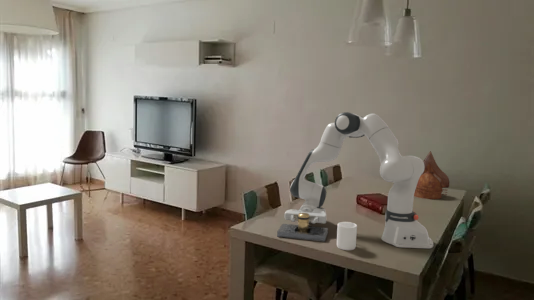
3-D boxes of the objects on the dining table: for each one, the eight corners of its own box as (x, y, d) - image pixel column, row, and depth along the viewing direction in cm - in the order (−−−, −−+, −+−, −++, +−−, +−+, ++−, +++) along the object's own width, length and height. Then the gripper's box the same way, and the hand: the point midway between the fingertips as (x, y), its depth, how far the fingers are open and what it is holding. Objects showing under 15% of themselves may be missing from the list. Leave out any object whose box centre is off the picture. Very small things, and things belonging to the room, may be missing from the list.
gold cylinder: (309, 233, 207) (310, 213, 206) (307, 237, 202) (308, 216, 200) (298, 232, 208) (299, 212, 207) (296, 236, 203) (297, 215, 202)
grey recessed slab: (327, 233, 208) (327, 228, 208) (324, 241, 197) (325, 236, 196) (282, 228, 213) (282, 223, 213) (277, 236, 202) (277, 231, 202)
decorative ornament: (404, 196, 286) (408, 150, 281) (409, 190, 302) (412, 147, 298) (447, 201, 274) (451, 154, 270) (449, 195, 291) (453, 150, 287)
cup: (334, 248, 188) (335, 226, 187) (340, 240, 199) (341, 218, 198) (353, 251, 185) (354, 228, 184) (359, 242, 196) (360, 221, 195)
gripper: (287, 205, 219) (281, 212, 205) (328, 208, 214) (325, 216, 200) (286, 217, 219) (281, 225, 206) (327, 221, 215) (324, 229, 201)
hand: (303, 221), depth 203 cm, fingers open, 8 cm apart
